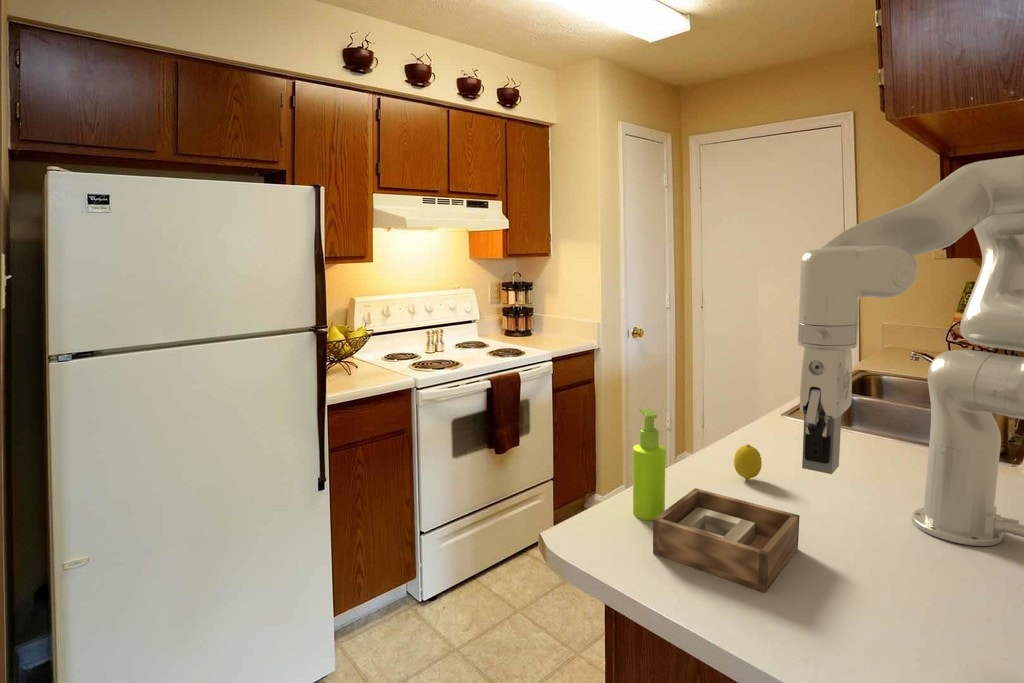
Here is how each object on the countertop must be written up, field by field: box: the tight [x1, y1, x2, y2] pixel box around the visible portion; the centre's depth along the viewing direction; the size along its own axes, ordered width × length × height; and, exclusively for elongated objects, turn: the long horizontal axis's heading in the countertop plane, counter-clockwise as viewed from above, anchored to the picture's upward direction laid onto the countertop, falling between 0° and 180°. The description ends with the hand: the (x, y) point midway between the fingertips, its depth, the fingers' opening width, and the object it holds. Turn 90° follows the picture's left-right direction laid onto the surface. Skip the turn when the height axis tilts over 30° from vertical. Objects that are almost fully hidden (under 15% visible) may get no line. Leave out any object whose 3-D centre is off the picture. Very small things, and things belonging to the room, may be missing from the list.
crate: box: [652, 487, 801, 594], centre depth 95 cm, size 18×16×6 cm
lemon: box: [733, 443, 763, 481], centre depth 124 cm, size 6×6×8 cm
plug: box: [801, 411, 842, 475], centre depth 85 cm, size 4×4×10 cm
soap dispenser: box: [632, 408, 666, 522], centre depth 109 cm, size 6×7×20 cm
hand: (821, 455), depth 86 cm, fingers closed on plug, 4 cm apart
